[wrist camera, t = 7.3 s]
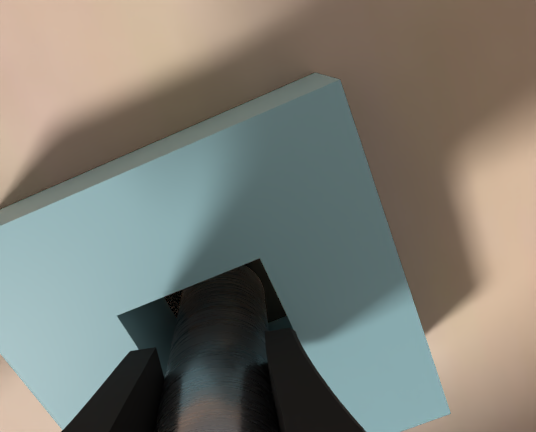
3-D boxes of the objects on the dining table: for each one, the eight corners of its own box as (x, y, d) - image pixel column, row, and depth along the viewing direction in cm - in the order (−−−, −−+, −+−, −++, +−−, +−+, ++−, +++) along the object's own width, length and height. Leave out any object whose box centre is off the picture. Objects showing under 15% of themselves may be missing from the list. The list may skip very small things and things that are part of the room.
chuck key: (255, 253, 13) (304, 758, 4) (271, 321, 14) (338, 849, 5) (172, 269, 13) (29, 814, 4) (194, 337, 14) (119, 893, 5)
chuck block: (411, 346, 15) (450, 413, 12) (156, 442, 16) (139, 525, 13) (315, 72, 12) (340, 79, 9) (-7, 212, 12) (-77, 258, 10)
